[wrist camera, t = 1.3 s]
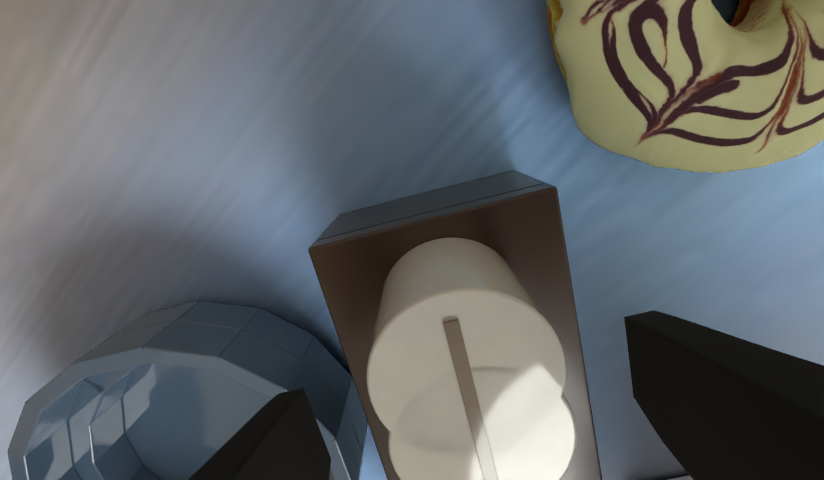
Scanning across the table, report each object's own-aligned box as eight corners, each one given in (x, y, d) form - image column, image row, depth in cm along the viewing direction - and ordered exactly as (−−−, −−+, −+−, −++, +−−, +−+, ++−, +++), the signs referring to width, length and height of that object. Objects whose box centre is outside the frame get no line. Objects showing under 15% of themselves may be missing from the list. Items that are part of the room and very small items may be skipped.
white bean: (539, 392, 12) (591, 502, 8) (414, 418, 12) (413, 535, 9) (506, 221, 10) (552, 267, 7) (364, 256, 11) (339, 317, 7)
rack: (573, 492, 19) (621, 600, 14) (434, 518, 19) (439, 631, 15) (515, 169, 14) (557, 186, 10) (337, 214, 15) (306, 248, 11)
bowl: (397, 494, 19) (392, 588, 15) (167, 539, 20) (107, 638, 16) (319, 267, 16) (287, 311, 12) (49, 333, 17) (-61, 394, 13)
